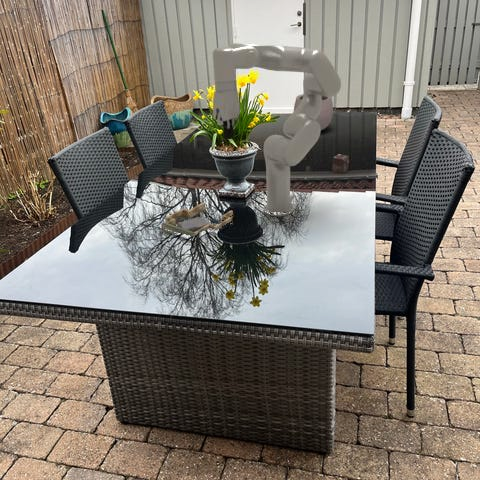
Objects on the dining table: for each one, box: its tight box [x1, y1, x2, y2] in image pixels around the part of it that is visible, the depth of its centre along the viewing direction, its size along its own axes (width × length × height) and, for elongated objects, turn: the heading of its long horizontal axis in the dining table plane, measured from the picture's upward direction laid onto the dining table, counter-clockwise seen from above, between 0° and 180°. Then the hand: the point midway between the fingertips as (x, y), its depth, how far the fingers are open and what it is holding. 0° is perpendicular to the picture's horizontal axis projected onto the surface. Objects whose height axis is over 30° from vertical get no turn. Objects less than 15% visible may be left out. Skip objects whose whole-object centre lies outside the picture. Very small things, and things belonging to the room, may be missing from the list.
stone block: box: [176, 216, 211, 231], centre depth 187 cm, size 12×5×10 cm
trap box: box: [162, 202, 234, 236], centre depth 190 cm, size 24×23×4 cm
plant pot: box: [293, 93, 334, 131], centre depth 291 cm, size 24×24×30 cm
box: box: [331, 153, 350, 174], centre depth 234 cm, size 6×6×7 cm
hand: (228, 138), depth 173 cm, fingers closed
